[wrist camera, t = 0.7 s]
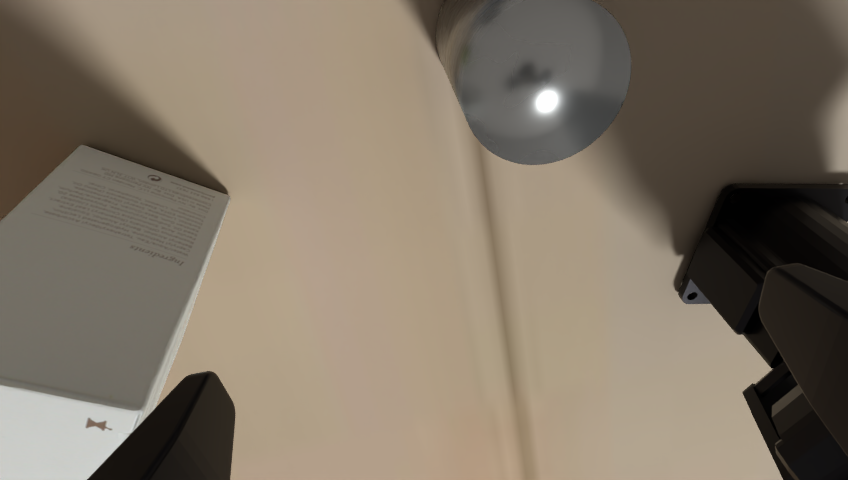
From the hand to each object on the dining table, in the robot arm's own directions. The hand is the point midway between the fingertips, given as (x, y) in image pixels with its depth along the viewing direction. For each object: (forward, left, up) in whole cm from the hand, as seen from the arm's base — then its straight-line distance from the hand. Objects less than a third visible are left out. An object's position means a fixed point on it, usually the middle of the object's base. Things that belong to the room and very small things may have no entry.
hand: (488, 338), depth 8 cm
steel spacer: (-3, -2, -13) cm, 13 cm away
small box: (+11, +7, -13) cm, 19 cm away
